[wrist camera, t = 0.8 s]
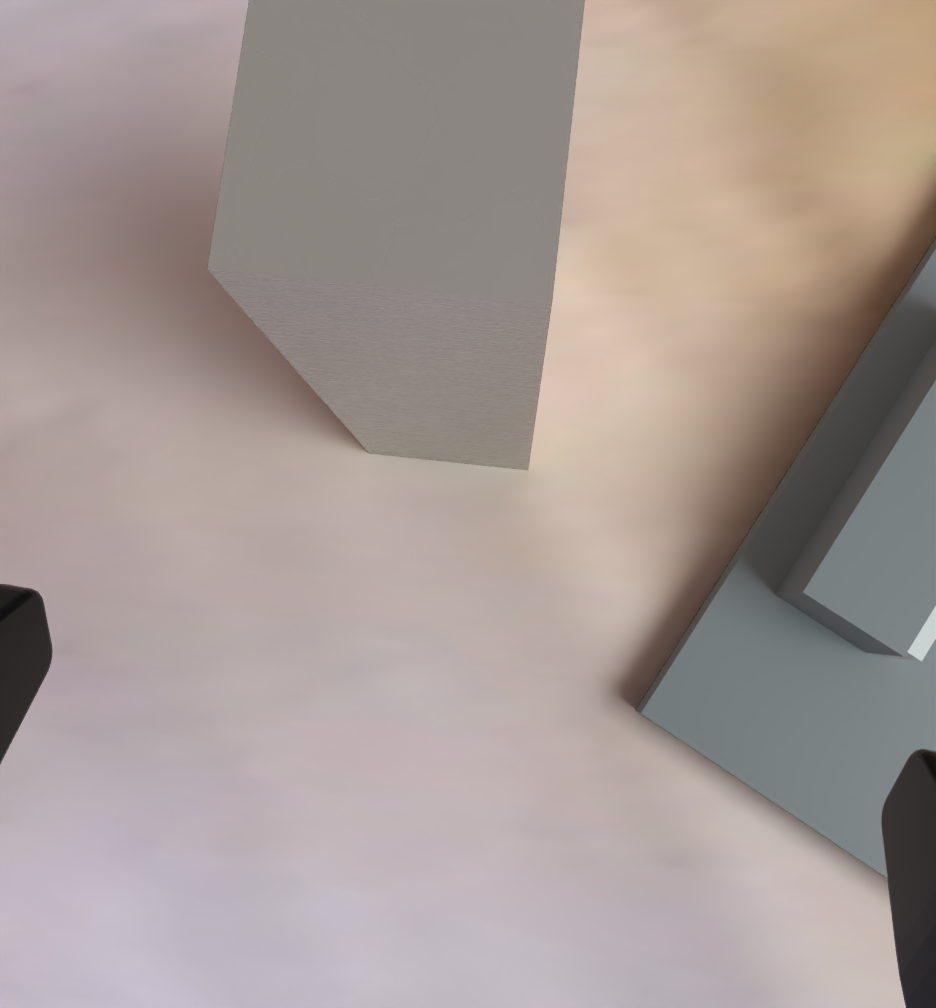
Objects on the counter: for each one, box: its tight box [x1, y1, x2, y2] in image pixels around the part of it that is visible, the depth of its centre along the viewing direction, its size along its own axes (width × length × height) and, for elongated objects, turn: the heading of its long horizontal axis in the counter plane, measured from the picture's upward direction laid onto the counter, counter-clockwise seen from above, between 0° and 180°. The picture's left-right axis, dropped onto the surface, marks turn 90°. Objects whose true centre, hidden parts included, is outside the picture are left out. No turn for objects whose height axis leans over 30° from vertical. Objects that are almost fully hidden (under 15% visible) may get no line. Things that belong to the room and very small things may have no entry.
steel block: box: [207, 0, 585, 470], centre depth 16 cm, size 5×4×12 cm
